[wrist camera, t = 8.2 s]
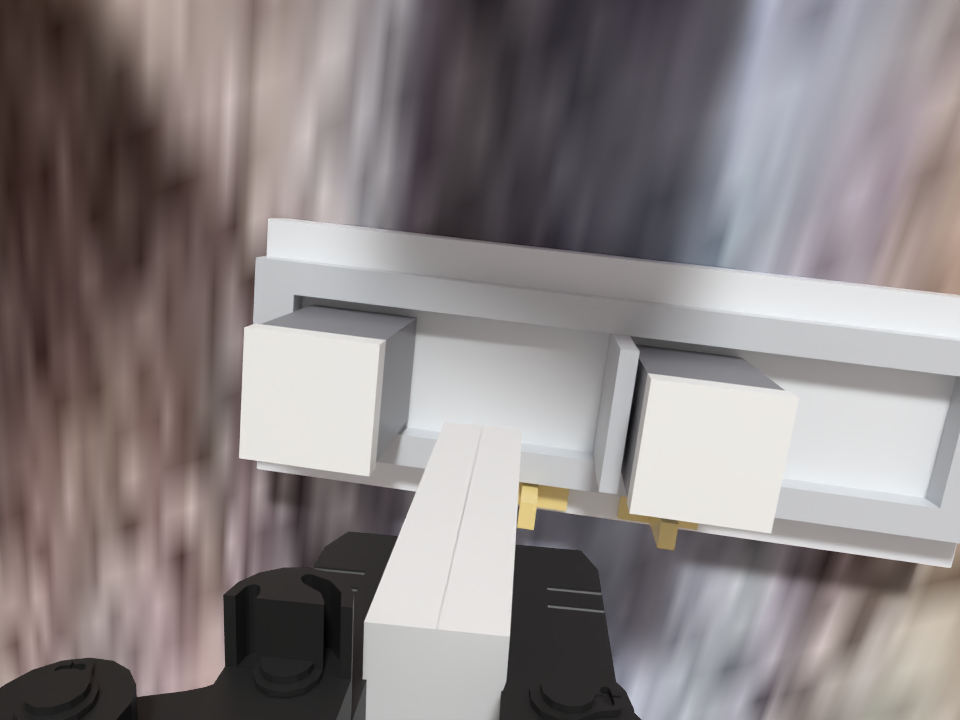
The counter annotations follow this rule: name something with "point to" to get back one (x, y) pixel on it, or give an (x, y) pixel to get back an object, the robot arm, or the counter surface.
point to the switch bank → (613, 365)
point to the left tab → (326, 387)
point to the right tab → (706, 440)
